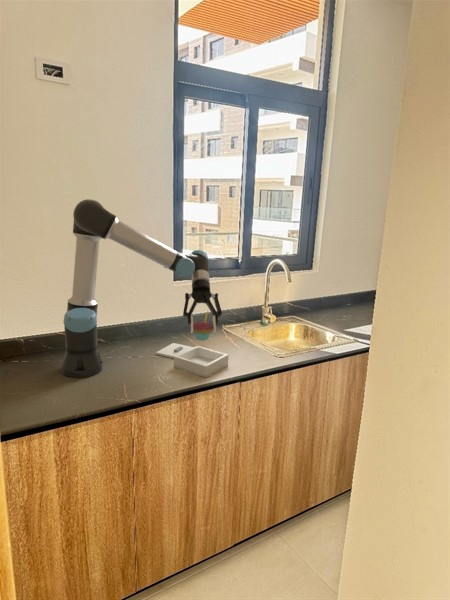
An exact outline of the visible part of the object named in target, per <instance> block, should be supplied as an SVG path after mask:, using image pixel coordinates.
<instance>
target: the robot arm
mask: <svg viewBox="0 0 450 600" xmlns="http://www.w3.org/2000/svg"><path fill="white" fill-rule="evenodd" d="M72 217H73V226H72V227H73V228H72V234H73V235H74V236H75V237H76V239H75V240H76V241H75V243H76V244H75V252H74V253H75V254H74V265H73V266H74V268H73V269H74V270H73V282H72V291H71V292H72V295H71V297H70V298H69V299H67V307H66V312H65V313H64V317H63V324H64V325H63V327H64V342H65V343H64V344H65V353H64V356H63V357H64V358H63V361H62V364H61V373H62V374H63V375H64V376H66V377H70V378H87V377H88V378H89V377H92V376H95V375H97V374H99V373H101V372H102V371H103V366H104V365H103V360H102V358H101V355H100V353H99V350H98V325H97V323H98V318H97V317H98V316H97V315H98V306H99V305H98V304H99V303H98V300H96V298H95V297H96V296H95V295H96V284H97V283H96V282H97V274H98V273H97V272H98V271H97V269H98V262H99V261H98V259H99V248H100V241H101V240H102V239H103V240H111V241H113V242H115V243H117V244H119V245H120V246H123V247H125V248H127V249H129V250H131V251H132V252H135V253H137V254H139V255H140V256H142V257H144V258H147V259H148V260H150V261H153V262H154V263H156V264H158V265H160V266H162V267H163V268H164V269H167V270H170V271H172V272H174V273H175V274H177V275H178V276H180V277H183V278H188V277H189V278H190V277H191V290H192V291H191V293H188V292H186V293H185V294H184V299H185V302H184V308H183V312H182V313H183V314H182V317H186V318H187V325H188V326H189V325H190V333H191V334H194V332H193V324H194V316H193V313H194V310H196V309H195V308H196V306H197V305H198V304H205V305H206V306H207V307H208V310H209V311H210V313H211V315H212V317H211V318H212V326H213V330H212V332H213V333H214V334H215V333H216V331H217V325H218V324H219V318H221V317H222V315H223V311H222V308H221V305H220V302H219V293H212V291H211V284H210V271H209V270H210V269H209V257H208V254H207V251H205V250H203V249H198V250H197V249H196V250H193V251H191V253H185V252H179V251H176V250H174V249H173V248H171V247H169V246H167V245H165V244H164V243H161V242H160V241H158V240H156V239H154V238H152V237H150V236H149V235H147V234H145V233H143V232H141V231H139V230H137V229H135V228H133V227H132V226H130V225H128V224H127V223H125V222H122V221H120V220H119V218H118V217H117V215H115V214H113V213H112V212H110V211H108V210H107V209H106V208H104V206H103V205H102V204H101V203H100V202H99V201H97V200H94V199H89V198H88V199H83V200H81V201H80V202H78V203H77V204H76V206H75V208H74V209H73V216H72ZM191 298H192V299H193V302H192V304H191V307H190V309H189V311H188V307H189V300H190V299H191ZM211 298H212V300H213V301H214V305H215V306H214V305H213V303H212V301H211Z"/></svg>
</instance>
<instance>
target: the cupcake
mask: <svg viewBox="0 0 450 600" xmlns="http://www.w3.org/2000/svg"><path fill="white" fill-rule="evenodd" d="M208 313H209V311H208V310H207V311H206V313H205V317H204V320H203V321H201V320H200V321H195V322H193V334H194V336H195V338H196V340H198V341H207V340H208V339H209V338H210V337H209V336H210V334H211V333H212V332H213V324H211V323H210V322H208V321H207V318H208Z"/></svg>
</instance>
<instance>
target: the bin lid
mask: <svg viewBox="0 0 450 600" xmlns="http://www.w3.org/2000/svg"><path fill="white" fill-rule="evenodd" d="M194 347H195V346H189V345H185V344H179V343H175V342H172V343H171V344H169V345H167V346H165V347H163V348H160V350H158V351H156V354H155V355H157V356H162V357H165V358H166V357H167V358H170V359H174V356H176V355H178V354H180V353H183V352H185V351H187V350H189V349H192V348H194Z"/></svg>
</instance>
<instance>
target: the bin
mask: <svg viewBox="0 0 450 600" xmlns="http://www.w3.org/2000/svg"><path fill="white" fill-rule="evenodd" d="M193 347H194V348H192V349H189V350H187V351H185V352H183V353H180V354H178V355H176V356H174V358H173V368H174V369H177V370H181V371H182V372H186V373H189V374H192V375H195V376H198V377H201V376H202V378H204V377H205V378H204V379H207V378H208V376H209V375H210V376H212V375H214V374H215V372H216V373H217V372H219V371H221V370H223V369H224V368H227V366H229V354H228V353H225V352H221V351H217V350H215V349H210V348H207V347H203V346H200V345H196V346H193ZM213 373H214V374H213ZM211 374H212V375H211ZM210 376H209V377H210ZM206 377H207V378H206Z"/></svg>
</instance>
